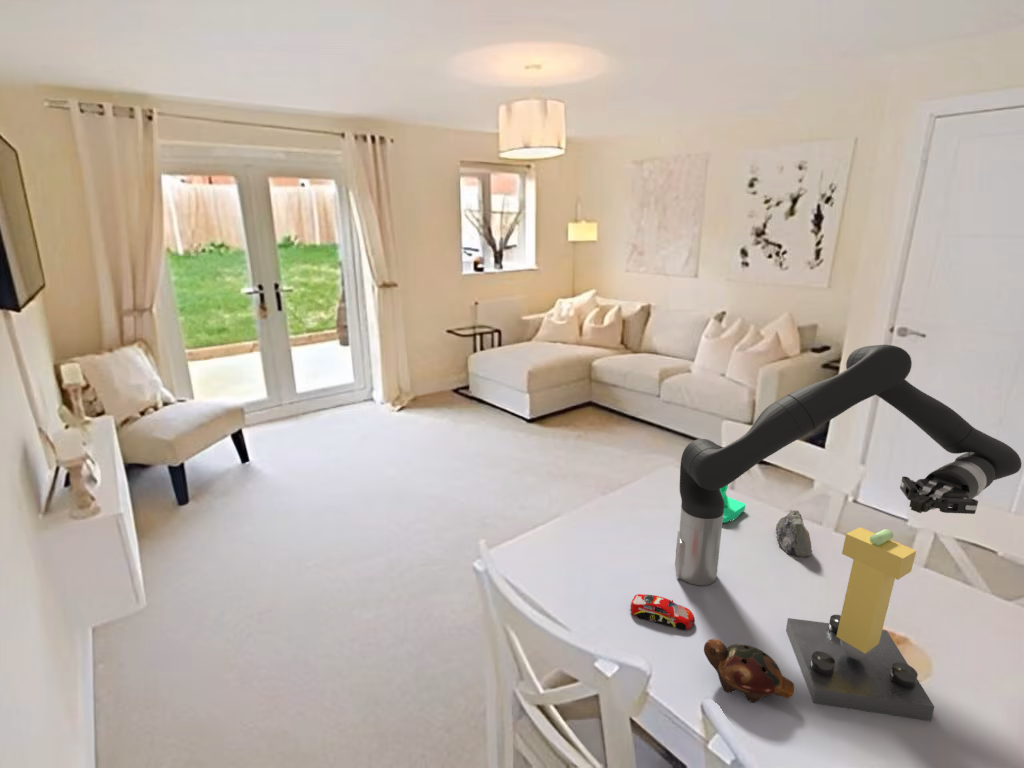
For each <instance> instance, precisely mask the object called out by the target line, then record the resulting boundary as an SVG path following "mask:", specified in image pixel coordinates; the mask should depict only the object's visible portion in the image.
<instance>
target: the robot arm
mask: <svg viewBox="0 0 1024 768" xmlns="http://www.w3.org/2000/svg"><path fill="white" fill-rule="evenodd" d="M846 359H847V360H846V363H845V365H846V369H845V370H843V371H842V372H840V373H837V374H836V375H833V376H831V377H829V378H826V379H823V380H821V381H818V382H815V383H812V384H809V385H806V386H803V387H801V388H799V389H796V390H794V391H792V392H789V394H786V395H785V396H783V397H781V398H780V399H777V400H776V401H774V402H772V403H771V404H769V405H768V406H767V407H765V409H764V410H763V411H762V412H761V413H760V414H759V416H758V417H757V419H756V420H754V423H753V425H752V426H751V427H750V428H749V429H748V431H747V432H746V433H745V434H743V435H742V436H741V437H740V438H738V439H736V440H734V441H732V442H730V443H729V444H727V445H726V446H723V447H720V446H719V445H718V444H717V443H715V442H714V441H712V440H711V439H707V438H698V439H694V440H692V441H691V442H690V443H689V444H687V445H686V446H685V448H684V450H683V452H682V454H681V459H680V467H679V468H680V469H679V495H680V498H681V505H680V517H679V518H680V519H679V529H678V530H677V536H676V549H675V550H676V551H675V561H674V564H675V565H674V566H675V575H676V579H677V580H681V581H683V582H686V583H688V584H690V585H695V586H708V585H712V584H714V582H716V580H717V576H718V566H719V558H720V547H721V540H722V530H723V523H724V522H723V513H724V500H723V497H722V495H721V492H720V488H723V487H725V486H726V485H728V486H729V485H730V484H731V483H732V482H735V481H736V480H737V479H738V478H740V477H741V476H742V475H743V474H745V473H746V472H748V471H749V470H751V469H752V468H753V467H755V466H756V465H758V464H759V463H761V461H763V460H765V459H767V458H768V457H771V456H772V455H773V454H775V453H776V452H779V451H780V450H782V449H783V448H786V447H787V446H788V445H791V444H792V443H793V442H796V441H797V440H800V439H801V438H803V437H805V436H807V435H808V434H810V433H812V432H813V431H816V429H818V428H820V427H821V426H823V425H825V424H826V423H828V422H831V421H832V420H833V419H835V418H836V417H839V415H841V414H843V413H844V412H846V411H847V410H849V409H850V408H853V406H855V405H857V404H859V403H861V402H863V401H865V400H867V399H870V398H871V397H874V396H877V397H878V398H880V399H881V400H883V401H885V402H886V403H887V404H889V405H890V406H892V407H893V408H895V409H896V410H897V411H898V412H899V413H901V414H902V415H903V416H905V417H906V418H907V419H908V420H910V421H911V422H912V423H914V424H915V425H916V426H917V427H918V428H919V429H921V430H922V431H923V432H924V433H925V434H926V435H927V436H929V437H930V438H931V439H932V440H933V441H934V442H935V443H937V445H939V446H940V447H941V448H942V449H943V450H945V451H946V452H948V453H950V454H955V455H956V454H958V455H959V454H960V455H959V456H957V457H956V458H955V460H954V461H952V462H949V463H946V464H944V465H943V466H941V467H939V468H937V469H935V470H933V471H931V472H930V473H929V474H927V476H926V477H925V478H919V479H917V480H916V481H915V480H913V479H910V477H908V476H905V475H904V476H902V477H901V482H900V484H899V485H900V486H899V489H900V490H901V492H902V493H903V495H904V496H905V497H906V499H907V500H908V501H909V507H910V511H914V512H916V513H919V514H922V513H927V512H929V511H931V510H932V511H934V510H937V509H938V510H939V512H941V513H944V514H945V513H946V514H965V515H966V514H968V515H969V514H970V515H974V514H976V511H977V508H978V503H979V500H978V499H975V498H976V497H977V496H979V495H980V494H981V493H982V491H984V490H985V489H987V488H988V487H989V486H991V485H992V484H993V482H994V481H997V480H999V479H1004V478H1006V477H1010V476H1012V475H1015V474H1016V473H1019V471H1020V470H1021V468H1022V459H1021V457H1020V455H1019V454H1018V453H1017V451H1016V450H1015V449H1014V448H1012V447H1011V446H1010V445H1008V444H1007V443H1005V442H1003V441H1001V440H1000V439H998V438H997V439H996V438H995V437H993V436H991V435H989V434H987V433H984V432H982V431H981V430H979V429H977V428H975V427H974V426H973V425H971V424H970V423H969V422H968V421H967V420H966V419H965V418H963V417H962V416H961V415H960V414H959V413H957V412H956V411H955V410H954V409H952V408H951V407H950V406H948V405H946V404H945V403H943V402H942V401H940V400H938V399H936V398H934V397H933V396H931V395H930V394H928V393H925V392H924V391H923V390H920V389H919V388H917V387H916V386H914V385H913V384H911V383H910V382H909V381H908V380H907V379H906V378H908V376H909V374H910V373H911V370H912V366H913V365H912V364H913V362H912V357H911V355H910V354H909V353H908V351H906V350H905V349H903V348H902V347H899V346H896V345H892V344H879V345H878V344H877V345H867V346H862V347H858V348H856V349H855V350H853V351H852V352H851V353H850V354H849V356H848V358H846Z"/></svg>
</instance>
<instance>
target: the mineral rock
mask: <svg viewBox="0 0 1024 768" xmlns="http://www.w3.org/2000/svg"><path fill="white" fill-rule="evenodd" d="M775 526H776V527H775V531H776V532H775V534H776V537H775V538H776V541H777V543H778V544H780V546H781V548H782V549H783V550H784V551H785V552H786V553H787V554H788V555H795V556H797V557H800V558H803V557H808V556H810V555H812V553H813V550H812V541H811V536H810V533H809V530H807V527H805V524H804V519H803V517H802V514H801V512H800V511H799V510H795V509H794V510H790V511H789V513H788V514H786V515H785V516H784V517H781V518H780V519H779V520H778V522H777V523H776V525H775Z"/></svg>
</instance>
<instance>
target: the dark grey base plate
mask: <svg viewBox="0 0 1024 768" xmlns="http://www.w3.org/2000/svg"><path fill="white" fill-rule="evenodd" d="M840 618H841V614H831V616H830V618H829V622H823V621H822V622H821V621H814V620H806V619H797V618H790V617H787V621H786V626H785V627H786V628H785V632H786V634H787V636H788V640H789V642H790V645H791V647H792V650H793V653H794V656H795V658H796V661H797V663H798V666H799V669H800V671H801V673H802V676H803V679H804V683H805V684H806V685H805V686H806V687H807V689H808V693H809V695H810V698H811V700H812V703H813V704H818V705H824V706H833V707H839V708H844V707H845V708H844V709H850V708H852V709H851V710H856V709H859V710H858V711H864V712H871V713H877V714H882V713H883V714H884V715H889V714H890V716H894V717H895V716H896V717H903V718H909V719H916V720H922V721H929V722H931V721H932V718H933V714H934V710H935V705H934V704H933V702H932V701H931V699H930V698H929V696H928V694H927V692H926V691H925V688H923V686H922V684H921V683H920V681H919V680H918V674H919V673H918V672H917V670H916V669H915V668H913V667H912V666H910V665H909V663H907V660H906V659H905V657H904V655H903V654H902V652H901V651H900V649H899V647H898V646H897V645H896V643H895V641H894V640H893V638H892V637H891V634H890V633H889V632H888V630H885V629H882V633H881V637H880V641H879V644H878V645H877V646H875V647H874V648H873V651H872V654H871V656H870V657H869V658H867V659H865V660H856V659H853V658H851V657H849V656H848V655H847V654H846V653H845V652H844V651H843V649H842V647H841V643H840V640H841V639H839V638H838V637H836V636H837V631H838V627H839V622H840Z"/></svg>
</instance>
